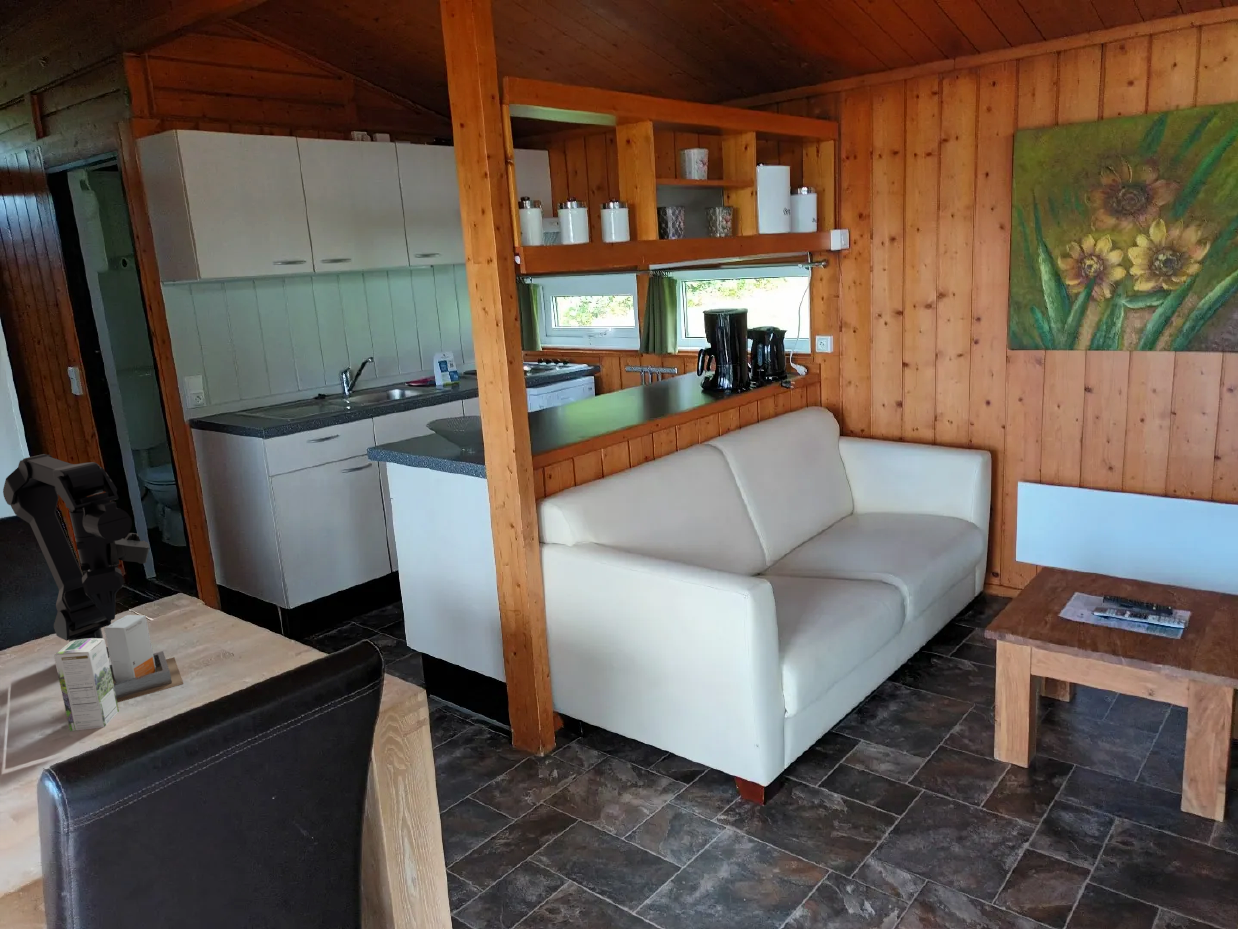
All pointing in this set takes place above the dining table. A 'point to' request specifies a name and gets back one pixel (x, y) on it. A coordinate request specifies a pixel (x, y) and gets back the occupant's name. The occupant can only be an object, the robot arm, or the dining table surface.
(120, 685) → the metal collar
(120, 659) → the skincare box
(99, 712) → the syrup box
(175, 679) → the walnut stand
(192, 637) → the dining table surface
